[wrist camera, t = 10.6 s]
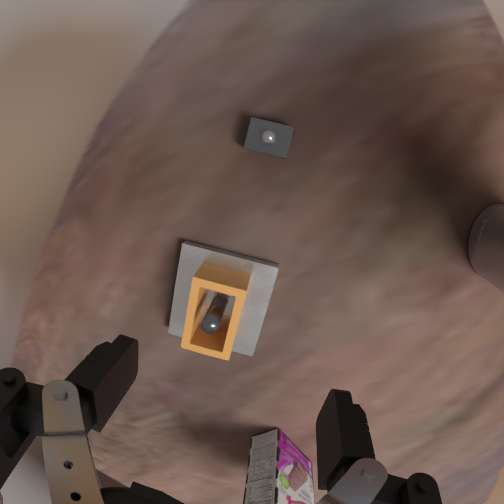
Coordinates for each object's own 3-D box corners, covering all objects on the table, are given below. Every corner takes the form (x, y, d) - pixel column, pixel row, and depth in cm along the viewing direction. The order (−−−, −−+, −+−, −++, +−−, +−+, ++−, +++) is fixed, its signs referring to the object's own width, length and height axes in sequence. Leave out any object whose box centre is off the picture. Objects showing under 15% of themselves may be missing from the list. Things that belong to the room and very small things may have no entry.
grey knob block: (293, 129, 29) (294, 126, 26) (286, 158, 30) (286, 158, 27) (253, 119, 29) (250, 115, 26) (245, 148, 30) (242, 147, 27)
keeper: (278, 264, 33) (278, 287, 27) (253, 350, 36) (248, 383, 30) (185, 240, 33) (165, 257, 27) (171, 327, 36) (153, 356, 30)
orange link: (250, 275, 32) (246, 290, 28) (234, 340, 34) (228, 360, 31) (203, 262, 32) (192, 276, 28) (190, 328, 34) (180, 347, 31)
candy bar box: (314, 461, 41) (318, 547, 26) (286, 470, 43) (283, 553, 27) (279, 425, 39) (275, 524, 24) (249, 435, 40) (236, 530, 25)
